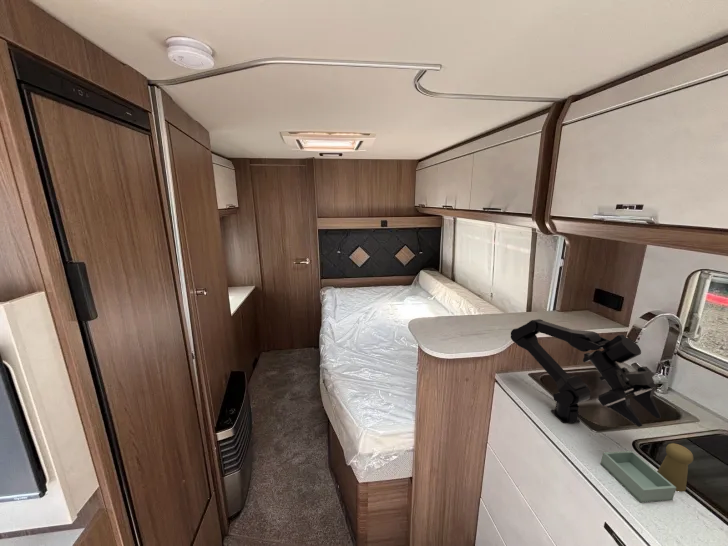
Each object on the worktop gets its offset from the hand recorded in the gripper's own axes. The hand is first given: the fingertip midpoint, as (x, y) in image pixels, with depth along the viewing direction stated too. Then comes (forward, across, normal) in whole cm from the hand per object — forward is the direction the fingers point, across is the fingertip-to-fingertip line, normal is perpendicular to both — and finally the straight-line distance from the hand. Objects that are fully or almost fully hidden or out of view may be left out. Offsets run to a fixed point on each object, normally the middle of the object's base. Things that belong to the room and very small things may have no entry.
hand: (650, 422), depth 87 cm
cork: (+14, +2, +8) cm, 16 cm away
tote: (+11, -8, +10) cm, 17 cm away
